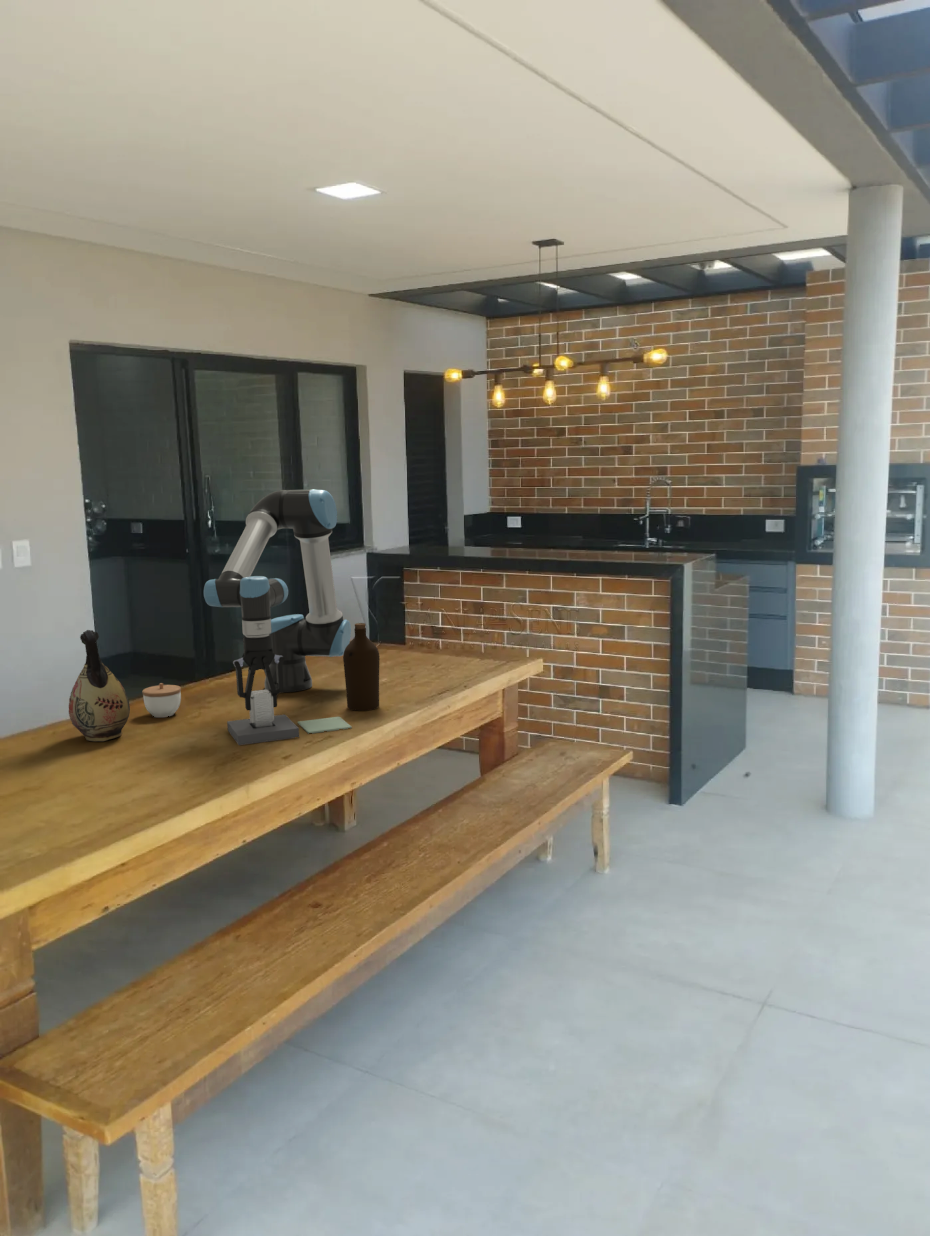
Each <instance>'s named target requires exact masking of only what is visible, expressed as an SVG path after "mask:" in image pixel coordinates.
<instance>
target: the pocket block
mask: <svg viewBox="0 0 930 1236" xmlns="http://www.w3.org/2000/svg"><path fill="white" fill-rule="evenodd" d="M226 722H227V723H226V724H227V731H228V733H229V734H230V735H231V737H232V738H233V740H234V741H235V743H236V744H237V745H238V746H243V745H250V744H257V743H266V742H274V741H281V740H288V739H296V738H295V737H298V738H300V729H299V726H297V725H296V724H295V723H294V721H292V720H291V719H290V718H289V717H288V716H287V714H276V715H274V720H272V725H273V726H272V727H264V728H256V729H253V725H252V722H251V721H250V718H245V719H236V720H227V721H226Z"/></svg>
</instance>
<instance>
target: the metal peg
mask: <svg viewBox="0 0 930 1236" xmlns="http://www.w3.org/2000/svg"><path fill="white" fill-rule="evenodd" d="M251 697H252V698H253V699H254V717H255V723H252V725H253V729H256V728H264V727H272V726H273V725H272V706H271V692H270V691H268V690H267V689H266V690H265V689H259V690H252V692H251Z"/></svg>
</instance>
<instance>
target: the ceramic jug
mask: <svg viewBox="0 0 930 1236" xmlns="http://www.w3.org/2000/svg"><path fill="white" fill-rule="evenodd" d="M79 638H80V640H81V643H82V644H84V647H85V653H86V656H85V663H84V665H83V668H82V670H80V673H79V674H78V675H77V676H78V677H77V679H76V681H75V683H74V685H73V687H72V689H71V692H70V696H69V699H68V716H69V720H70V721H71V724H72V725H73V727H74V728H76V729H77V730H78V731H79V732H80V733H81V734H82V736H84V737H85V740H86V741H90V742H106V741H108V740H112V739H116V738H118V737H121V736H122V734H123V733H122V730H123V728H124V727H125V726H126V723H127V722H128V720H129V717H130V713H131V707H130V706H131V705H130V700H129V697H128V695H127V692H126V690H125V687H123V685H122V683H121V681H119V679H118V678H117V677H116V676H115V674H114V673H113V672H112V671H111V670H110V669H109V668H108V666H106V665H105V664H104V663H103V661H102V659H101V657H100V653H99V647H98V643H97V642H98V640H99V638H100V635H99V632H97V631H94V630H91V629H87V630H86V631H83V633H82V634H80V635H79Z"/></svg>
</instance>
